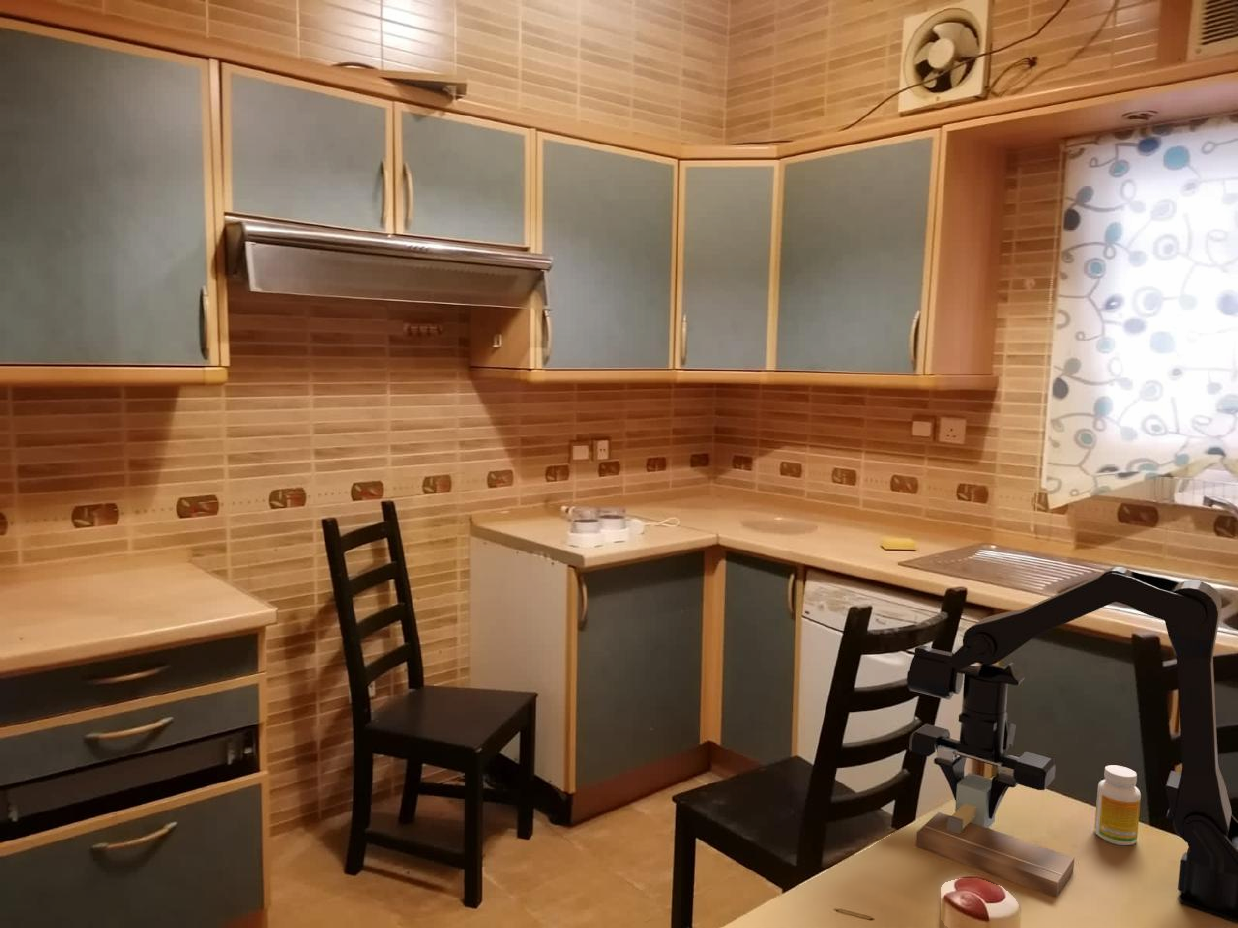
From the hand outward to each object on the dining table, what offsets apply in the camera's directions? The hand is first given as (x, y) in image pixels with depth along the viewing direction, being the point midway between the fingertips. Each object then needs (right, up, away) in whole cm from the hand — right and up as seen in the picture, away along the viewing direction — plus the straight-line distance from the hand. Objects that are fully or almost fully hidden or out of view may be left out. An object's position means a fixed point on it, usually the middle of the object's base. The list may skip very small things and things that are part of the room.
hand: (975, 812), depth 129 cm
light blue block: (-2, -2, -2) cm, 4 cm away
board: (-1, -3, -8) cm, 9 cm away
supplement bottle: (+19, -3, -1) cm, 20 cm away
